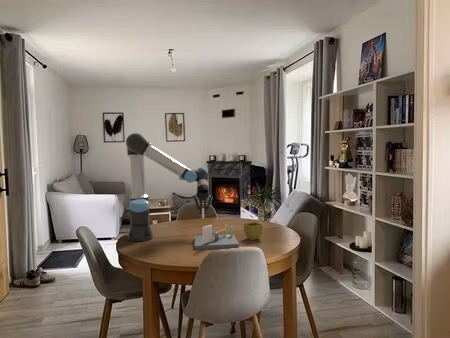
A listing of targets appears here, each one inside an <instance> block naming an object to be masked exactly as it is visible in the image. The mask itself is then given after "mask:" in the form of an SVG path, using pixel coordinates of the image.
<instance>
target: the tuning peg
mask: <svg viewBox="0 0 450 338" xmlns="http://www.w3.org/2000/svg"><path fill="white" fill-rule="evenodd" d="M226 230H227V231H228V228H227V229H225V228H223V229H221V230H218V231H213V224H209V225H205V226H202V230H201V231H202V236H203V244H206V243H209V242H211V241H214V240H219V235H220V233H224V232H225V231H226Z"/></svg>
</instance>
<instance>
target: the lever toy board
mask: <svg viewBox="0 0 450 338" xmlns="http://www.w3.org/2000/svg"><path fill="white" fill-rule="evenodd" d="M233 226H234V225H233ZM233 226H232V225H231V226H230V234H228V225H227V224H224V229H227V230H226V231H224V234H219V240H214V241H211V242H209V243H206V244H203V235H194V238H193V239H194V250H213V249H214V250H215V249H218V250H219V249H235V248H234V247H239V248H240V245H239V242H238V240H237V238H236V235H235V234H234V227H233Z"/></svg>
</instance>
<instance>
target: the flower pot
mask: <svg viewBox="0 0 450 338" xmlns="http://www.w3.org/2000/svg"><path fill="white" fill-rule="evenodd" d="M242 225H243V232H244V235H245V237H246V238H247V239H249V240H250V241H255V240H259V239H260V238H261V236H262V234H263V224H261V223H260V222H255V221H254V222H248V223H247V222H246V223H243V224H242Z"/></svg>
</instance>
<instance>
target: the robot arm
mask: <svg viewBox="0 0 450 338" xmlns="http://www.w3.org/2000/svg"><path fill="white" fill-rule="evenodd" d="M125 146H126V151H127V152H126V154H127V157H129V159H130V173H131V174H130V175H131V176H130V177H131V191H132V192H131V193H132V195H131V196H130V197H129V198H130V202H129V224H130V225H129V231H128V233H127V240H128V241H129V242H145V241H150V240H152V239H153V238H154V233H153V230H152V228H151V223H150V222H151V220H150V217H151V216H150V199H149V195H148V194H147V189H146V188H147V187H146V174H145V171H146V169H145V157H146V158H148V159H150V160H151V161H153V162H155V163H156V164H158V165H160V166H161V167H163V168H165V170H168V171H169V172H171V173H173V174H175V175H176V176H178V179H179V180H180V181H186V182H187V183H189V184H191V183H194V182H196V194H195V195H192V200H193V201H194V203H195V206H196V210H197V211H199V214H200V215H201V220H202V221H205V215H206V214H207V210H210V206H211V203H212V200H213V197H214V196H213V194H210V193H209V171H208V169H207V168H206V167H205V166H204V167H203V166H202V167H198V168H197V169H190V168H189V167H187V166H186V165H185V164H183V163H181V162H180V161H178V160H176V159H175V158H173V157H172V156H170V155H168V154H167V153H165V152H164V151H162V150H160V149H159V148H157V147H155V146H154V145H152V142H150V141H149V140H147V139H146V138H145V137H144V136H143V135H142V134H140V133H137V132H134V133H131V134H129V135H128V136H127V137H126V139H125ZM198 200H199V202H198ZM207 200H208V202H207Z"/></svg>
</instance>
